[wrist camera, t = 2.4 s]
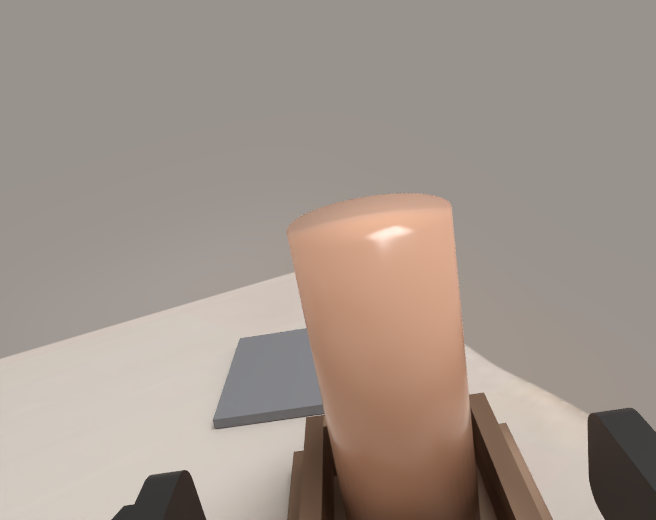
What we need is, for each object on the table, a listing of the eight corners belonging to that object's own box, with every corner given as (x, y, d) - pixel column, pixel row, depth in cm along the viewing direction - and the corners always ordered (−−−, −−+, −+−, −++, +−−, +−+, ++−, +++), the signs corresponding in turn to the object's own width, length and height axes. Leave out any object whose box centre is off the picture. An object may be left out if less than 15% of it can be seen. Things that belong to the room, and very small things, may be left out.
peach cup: (498, 577, 23) (470, 226, 17) (352, 594, 23) (279, 257, 18) (453, 437, 31) (424, 173, 26) (347, 451, 32) (296, 195, 26)
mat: (215, 428, 38) (213, 419, 38) (241, 345, 50) (239, 338, 49) (378, 406, 38) (376, 396, 37) (367, 326, 49) (366, 319, 49)
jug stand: (279, 710, 21) (251, 624, 19) (298, 470, 33) (282, 405, 31) (615, 675, 20) (617, 582, 18) (507, 442, 32) (502, 373, 30)
